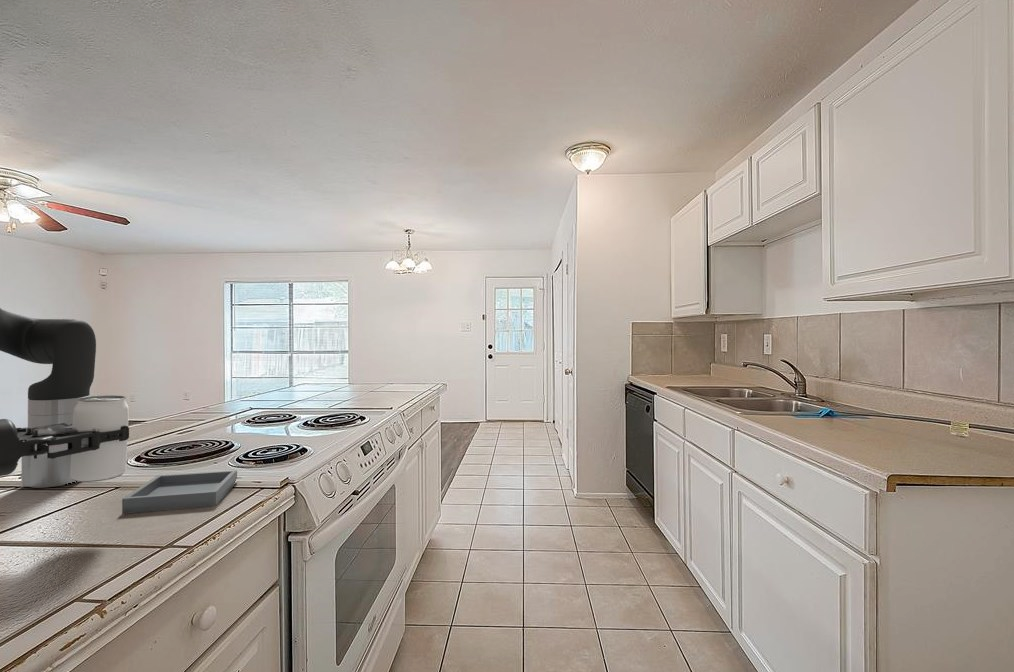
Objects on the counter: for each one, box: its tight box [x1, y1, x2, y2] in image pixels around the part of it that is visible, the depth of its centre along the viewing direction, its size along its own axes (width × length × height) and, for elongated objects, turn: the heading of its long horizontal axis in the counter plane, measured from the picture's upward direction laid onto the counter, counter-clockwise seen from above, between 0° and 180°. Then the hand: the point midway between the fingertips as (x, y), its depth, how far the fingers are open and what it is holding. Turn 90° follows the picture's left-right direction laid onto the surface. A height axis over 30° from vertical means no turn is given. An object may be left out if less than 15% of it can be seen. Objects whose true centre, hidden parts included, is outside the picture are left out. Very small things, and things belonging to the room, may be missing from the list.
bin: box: [121, 469, 238, 514], centre depth 89 cm, size 14×14×2 cm
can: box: [70, 394, 130, 483], centre depth 73 cm, size 6×6×12 cm
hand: (117, 430), depth 75 cm, fingers closed on can, 5 cm apart
